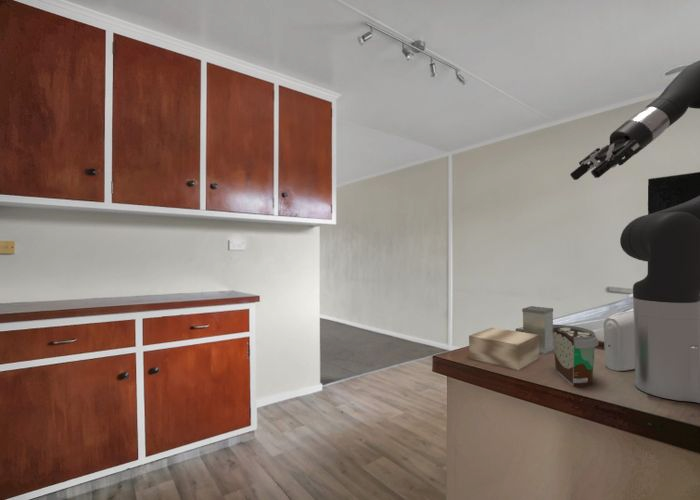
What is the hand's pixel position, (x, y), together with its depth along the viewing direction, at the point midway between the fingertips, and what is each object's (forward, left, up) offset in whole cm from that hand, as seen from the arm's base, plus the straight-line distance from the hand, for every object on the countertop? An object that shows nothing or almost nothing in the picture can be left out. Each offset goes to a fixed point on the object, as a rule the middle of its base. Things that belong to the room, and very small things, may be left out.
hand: (582, 176), depth 86 cm
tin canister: (+10, +4, -45) cm, 46 cm away
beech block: (+13, +17, -45) cm, 50 cm away
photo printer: (-9, +4, -45) cm, 46 cm away
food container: (-4, +18, -45) cm, 49 cm away
